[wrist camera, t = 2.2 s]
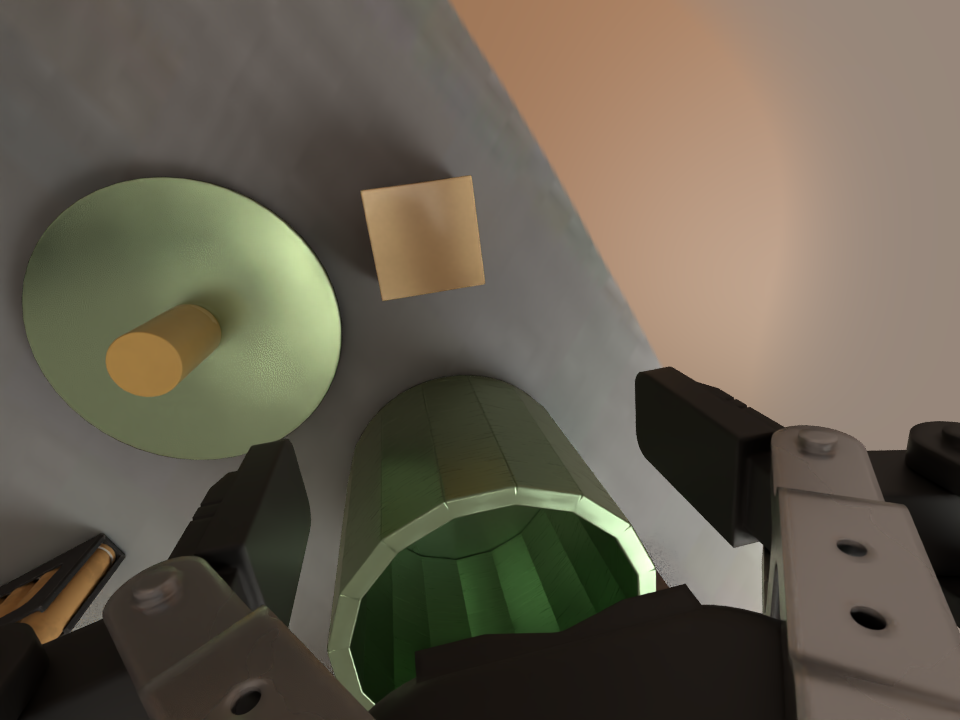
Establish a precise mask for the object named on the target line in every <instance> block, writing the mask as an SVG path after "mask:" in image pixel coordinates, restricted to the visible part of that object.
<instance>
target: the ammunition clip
mask: <svg viewBox="0 0 960 720" xmlns="http://www.w3.org/2000/svg"><path fill="white" fill-rule="evenodd" d="M125 557H126V556H125V555H124V554H123V553H122V552H121V551H120V550H119V549H118V548H117V547H116V546H115V545H114V544H113V543H112V542H111V541H110V540H109V539H108V538H107V537H106V536H105V535H103V534H99V535H97V536H96V537H94V538H92V539H90V540H88V541H86V542H84V543H82V544H81V545H79V546H77V547H75V548H73V549H71V550H69V551H67V552H66V553H64V554H62V555H60V556H58V557H56V558H54V559H52V560H51V561H49V562H47V563H45V564H43V565H41V566H39V567H37V568H36V569H34V570H32V571H30V572H28V573H26V574H24V575H23V576H21V577H19V578H17V579H15V580H13V581H11V582H9V583H8V584H6V585H4V586H2V587H0V625H3V624H8V623H17V622H19V623H26V624H28V625H30V626H31V627H32V628H33V629H34V631H35V633H36V635H37V637H38V638H39V640H40V642H41V644H44V643H47V642H49V641H52V640H54V639H56V638H59V637H61V636H63V635H66V634H68V633H70V632H71V630H72V629H73V628H74V626H75V625H76V623H77V622H78V621H79V619H80V618H81V617H82V615H83V614H84V613H85V611H86V610H87V609H88V607H89V606H90V604H91V603H92V602H93V600H94V599H95V598H96V596H97V595H98V594H99V592H100V591H101V590H102V588H103V587H104V585H105V584H106V583H107V581H108V580H109V579H110V577H111V576H112V575H113V573H114V572H115V571H116V569H117V568H118V567H119V565H120V564H121V562H122V561H123V560H124V558H125Z"/></svg>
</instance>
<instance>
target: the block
mask: <svg viewBox="0 0 960 720" xmlns="http://www.w3.org/2000/svg"><path fill="white" fill-rule="evenodd" d="M360 193H361V198H362V203H363V207H364V212H365V217H366V222H367V227H368V232H369V237H370V242H371V247H372V252H373V257H374V262H375V267H376V272H377V277H378V282H379V287H380V292H381V297H382V300H383V301H386V300H392V299H398V298H404V297H410V296H416V295H422V294H428V293H434V292H440V291H446V290H452V289H458V288H464V287H470V286H476V285H482V284H485V277H484V269H483V262H482V254H481V246H480V239H479V231H478V223H477V215H476V208H475V200H474V192H473V184H472V177H471V176H470V175H469V176H461V177H454V178H447V179H440V180H433V181H425V182H418V183H411V184H404V185H396V186H389V187H382V188H375V189H368V190H361V192H360Z"/></svg>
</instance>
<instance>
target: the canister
mask: <svg viewBox="0 0 960 720" xmlns="http://www.w3.org/2000/svg"><path fill="white" fill-rule="evenodd" d="M655 591H656V568H655V565H654V563H653V561H652V560H651V558H650V556H649V554H648V553H647V551H646V549H645V547H644V546H643V544H642V542H641V540H640V539H639V537H638V535H637V533H636V532H635V530H634V528H633V526H632V525H631V523H630V522H629V521H628V519H627V518H626V517H625V515H624V514H623V513H622V511H621V510H620V509H619V507H618V506H617V505H616V503H615V502H614V501H613V499H612V498H611V497H610V495H609V494H608V493H607V491H606V490H605V489H604V487H603V486H602V485H601V483H600V482H599V480H598V479H597V478H596V476H595V475H594V474H593V472H592V471H591V470H590V468H589V467H588V466H587V464H586V463H585V462H584V460H583V459H582V458H581V456H580V455H579V454H578V452H577V451H576V450H575V448H574V447H573V446H572V444H571V443H570V442H569V440H568V439H567V438H566V436H565V435H564V434H563V432H562V431H561V430H560V428H559V427H558V426H557V424H556V423H555V422H554V420H553V419H552V418H551V416H550V415H549V414H548V412H547V411H546V410H545V408H544V407H543V406H542V405H540V404H539V403H537V402H536V401H535V400H534V399H533V398H531V397H530V396H529V395H528V394H526V393H525V392H523V391H522V390H520V389H518V388H516V387H515V386H513V385H510V384H508V383H505V382H503V381H500V380H497V379H493V378H489V377H483V376H475V375H457V376H449V377H442V378H438V379H434V380H430V381H427V382H425V383H422V384H419V385H417V386H414V387H412V388H411V389H409V390H407V391H405V392H403V393H401V394H400V395H398V396H397V397H396V398H394V399H393V400H391V401H390V402H389V403H388V404H387V405H385V406H384V407H383V408H382V409H381V410H380V411H379V412H378V413H377V414H376V415H375V417H374V418H373V419H372V420H371V421H370V422H369V424H368V425H367V427H366V429H365V430H364V432H363V433H362V435H361V437H360V439H359V441H358V442H357V444H356V446H355V451H354V455H353V459H352V464H351V470H350V474H349V479H348V484H347V492H346V500H345V508H344V516H343V524H342V532H341V540H340V549H339V557H338V565H337V573H336V581H335V589H334V597H333V605H332V613H331V621H330V629H329V637H328V645H327V652H328V656H329V659H330V662H331V665H332V668H333V671H334V675H335V678H336V679H337V680H338V681H339V682H340V683H341V684H342V685H343V686H344V687H345V688H346V689H347V690H348V691H349V692H350V693H351V694H352V695H353V696H354V697H355V699H356V700H357V701H358V702H359V703H360V704H361V705H362V706H363V707H364V708H365V709H366V710H367V711H369V710H370V709H371V708H372V707H373V706H374V705H375V704H377V703H378V702H379V701H380V700H382V699H383V698H384V697H385V696H386V695H388V694H389V693H391V692H392V691H394V690H395V689H397V688H398V687H400V686H401V685H403V684H404V683H406V682H408V681H410V680H412V679H413V678H415V677H416V667H415V651H419V650H423V649H427V648H431V647H435V646H439V645H443V644H447V643H451V642H455V641H459V640H463V639H467V638H471V637H475V636H479V635H483V634H511V633H552V632H560V631H564V630H566V629H568V628H570V627H572V626H574V625H576V624H577V623H579V622H581V621H583V620H585V619H587V618H589V617H591V616H592V615H594V614H596V613H598V612H600V611H602V610H604V609H606V608H608V607H609V606H611V605H613V604H615V603H617V602H619V601H621V600H623V599H627V598H631V597H635V596H639V595H643V594H647V593H651V592H655Z"/></svg>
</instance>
